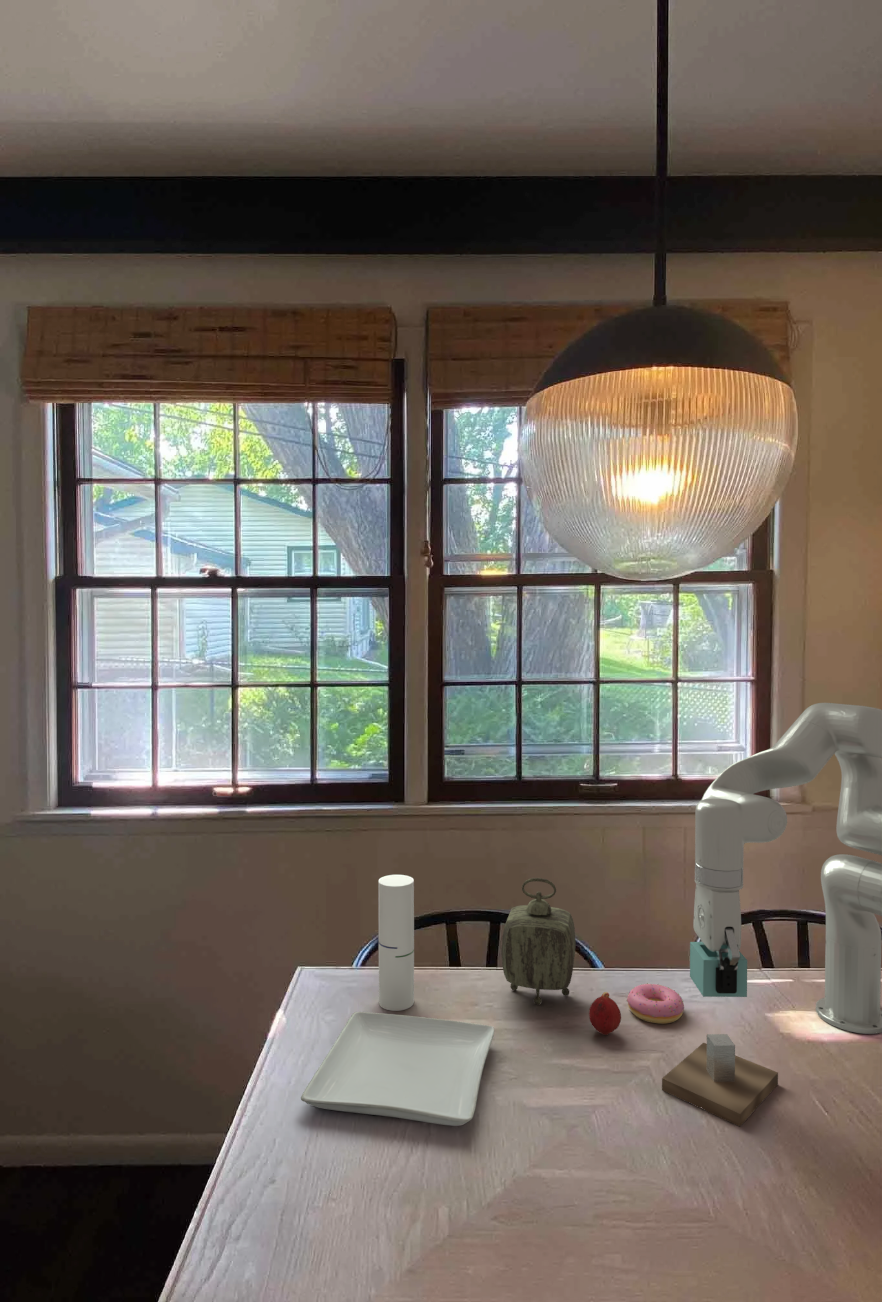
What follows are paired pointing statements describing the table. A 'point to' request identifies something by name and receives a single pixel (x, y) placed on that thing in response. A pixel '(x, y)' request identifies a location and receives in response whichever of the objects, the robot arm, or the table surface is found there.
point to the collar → (713, 971)
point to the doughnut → (655, 1003)
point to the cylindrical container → (396, 942)
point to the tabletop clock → (538, 945)
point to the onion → (604, 1014)
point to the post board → (721, 1091)
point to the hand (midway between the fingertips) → (717, 980)
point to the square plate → (403, 1068)
